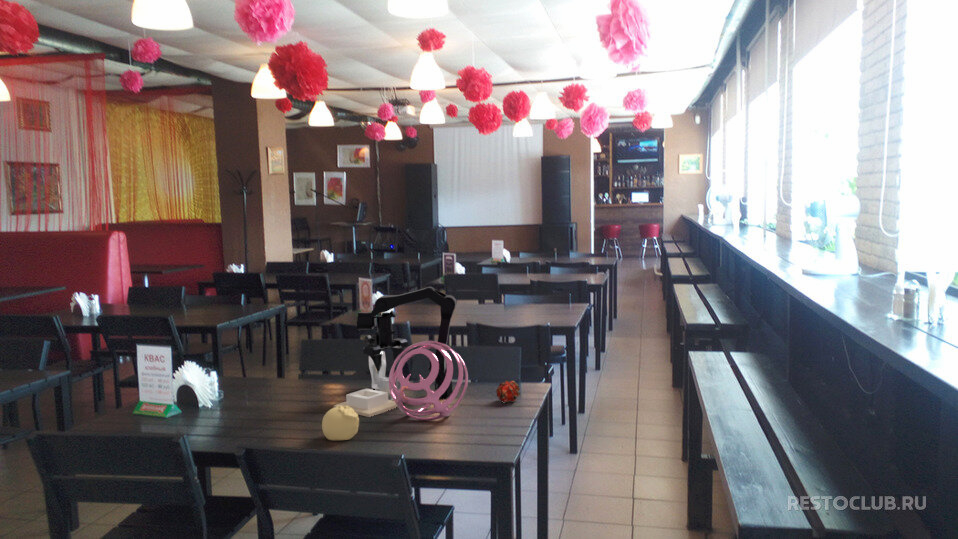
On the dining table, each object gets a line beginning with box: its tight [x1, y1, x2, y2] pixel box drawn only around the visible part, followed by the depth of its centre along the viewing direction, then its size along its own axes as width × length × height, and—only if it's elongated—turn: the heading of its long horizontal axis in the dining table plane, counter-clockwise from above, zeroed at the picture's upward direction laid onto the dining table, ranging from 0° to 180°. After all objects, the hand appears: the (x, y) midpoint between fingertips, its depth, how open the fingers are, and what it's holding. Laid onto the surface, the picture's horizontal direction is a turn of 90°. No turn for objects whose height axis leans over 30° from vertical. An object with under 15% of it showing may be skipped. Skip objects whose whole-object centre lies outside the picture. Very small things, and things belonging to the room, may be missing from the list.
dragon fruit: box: [496, 379, 522, 403], centre depth 260 cm, size 8×8×12 cm
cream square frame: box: [333, 387, 399, 418], centre depth 261 cm, size 20×16×5 cm
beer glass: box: [368, 350, 387, 391], centre depth 287 cm, size 7×7×15 cm
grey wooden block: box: [377, 376, 401, 401], centre depth 272 cm, size 9×4×8 cm, turn 50°
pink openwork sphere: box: [388, 340, 469, 422], centre depth 246 cm, size 28×28×27 cm
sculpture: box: [321, 405, 360, 441], centre depth 227 cm, size 12×12×11 cm
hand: (387, 368), depth 271 cm, fingers open, 9 cm apart
